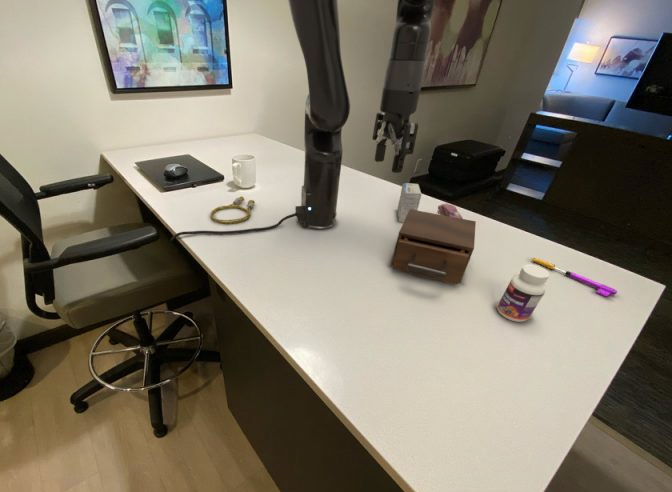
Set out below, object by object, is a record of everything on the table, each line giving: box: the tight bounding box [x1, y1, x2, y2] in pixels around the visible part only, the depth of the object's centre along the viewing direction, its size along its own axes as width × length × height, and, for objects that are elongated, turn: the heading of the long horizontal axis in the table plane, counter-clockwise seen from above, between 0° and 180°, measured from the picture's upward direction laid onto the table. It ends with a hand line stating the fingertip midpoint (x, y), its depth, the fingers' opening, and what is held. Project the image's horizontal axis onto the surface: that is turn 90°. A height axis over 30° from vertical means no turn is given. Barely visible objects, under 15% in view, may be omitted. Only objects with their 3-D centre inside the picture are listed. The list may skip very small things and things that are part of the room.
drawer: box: [391, 237, 469, 285], centre depth 70 cm, size 18×13×7 cm
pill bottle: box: [496, 264, 550, 323], centre depth 59 cm, size 5×5×10 cm
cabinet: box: [390, 209, 477, 284], centre depth 74 cm, size 14×15×9 cm
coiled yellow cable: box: [210, 196, 256, 225], centre depth 96 cm, size 12×16×2 cm
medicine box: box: [396, 182, 422, 223], centre depth 93 cm, size 8×4×9 cm, turn 168°
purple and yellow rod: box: [531, 257, 618, 298], centre depth 71 cm, size 3×1×16 cm
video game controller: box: [437, 202, 464, 219], centre depth 90 cm, size 10×5×7 cm, turn 5°
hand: (387, 166), depth 77 cm, fingers open, 8 cm apart
